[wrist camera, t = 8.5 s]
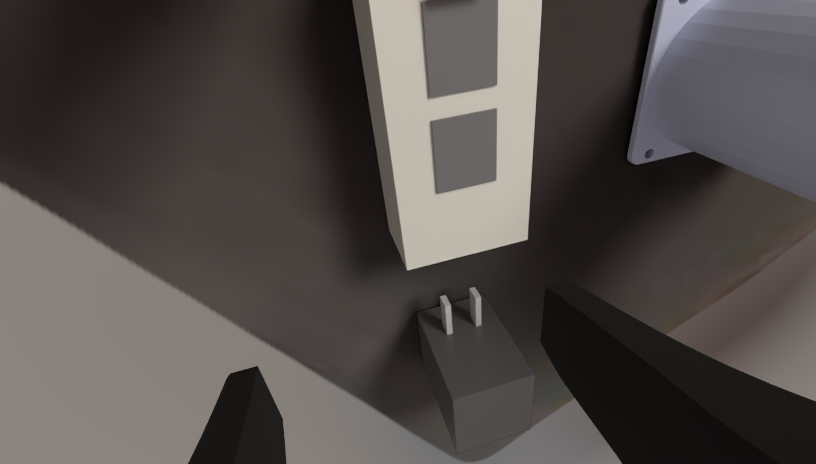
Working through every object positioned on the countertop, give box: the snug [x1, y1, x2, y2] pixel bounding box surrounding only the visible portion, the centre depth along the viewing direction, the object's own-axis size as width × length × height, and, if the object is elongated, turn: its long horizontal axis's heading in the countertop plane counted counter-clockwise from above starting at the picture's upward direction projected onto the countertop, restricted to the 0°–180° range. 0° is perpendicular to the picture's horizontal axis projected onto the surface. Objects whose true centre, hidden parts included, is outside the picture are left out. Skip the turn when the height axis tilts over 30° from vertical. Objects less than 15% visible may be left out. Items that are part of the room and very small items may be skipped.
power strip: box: [352, 0, 542, 270], centre depth 14 cm, size 6×19×4 cm, turn 7°
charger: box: [417, 287, 535, 454], centre depth 22 cm, size 4×6×6 cm, turn 7°
